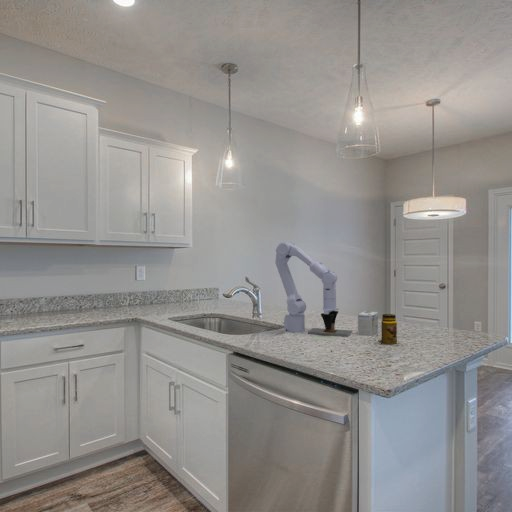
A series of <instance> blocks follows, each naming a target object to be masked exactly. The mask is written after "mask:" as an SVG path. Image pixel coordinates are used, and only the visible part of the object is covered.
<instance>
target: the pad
mask: <svg viewBox="0 0 512 512" xmlns="http://www.w3.org/2000/svg"><path fill="white" fill-rule="evenodd" d="M337 338H338V337H335V336H321V335H317V336H316V335H314V336H312V338H310V340H315V341H328V342H329V341H330V342H335V341H336V340H337Z"/></svg>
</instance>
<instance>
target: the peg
mask: <svg viewBox="0 0 512 512" xmlns="http://www.w3.org/2000/svg"><path fill="white" fill-rule="evenodd" d="M335 324H336V323H335ZM335 324H334V323H332V324H331V329H330V330H326V332H333V333H335V329H336V328H335Z"/></svg>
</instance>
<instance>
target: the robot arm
mask: <svg viewBox="0 0 512 512" xmlns="http://www.w3.org/2000/svg"><path fill="white" fill-rule="evenodd" d="M275 253H276V255H275V265H276V269H277V272H278V274H279V276H280V279H281V283H282V286H283V288H284V292H285V293H286V297H287V298H286V303H287V307H286V308H287V312H288V313H289V314H285V316H284V318H283V327H284V328H283V329H284V330H283V332H284V334H285V333H287V332H292V333H303V332H305V331H306V330H305V327H306V326H305V324H306V323H305V321H306V320H305V318H306V317H305V315H306V313H305V311H306V310H307V304H306V302H305V301H304V300H303V298H302V296H301V295H300V294H299V292H298V289H297V287H296V283H295V282H294V279H293V276H292V274H291V271H290V270H291V269H290V267H289V264H288V262H289V261H290V259H291V258H292V257H297V258H298V260H299V259H300V260H301V261H302V262H303V263H304V264H306V265H307V266H308V267H309V271H310V272H312V273H313V274H314V275H315V276H316V277H317V278H319V279H320V280H321V282H322V284H323V285H322V286H323V287H322V293H323V294H322V295H323V296H322V297H323V298H322V300H323V301H322V302H323V303H322V304H323V306H322V307H323V308H322V310H323V313H320V316H321V318H322V320H323V324H324V329H326V330H330V329H331V324H332V323H334V324H336V319H337V316H338V314H339V309H340V308H339V307H337V288H336V287H337V286H336V285H337V284H336V283H337V280H338V276H337V274H336V273H335V272H334V271H331V269H330V268H327V267H326V266H325V265H324V263H323V262H322V261H319V260H315V261H314V260H313V259H312V258H311V257H310V256H309V255H308V254H307V253H306V252H304V251H303V250H302V249H301V248H300V247H299V246H297V245H295V243H293V242H286V241H283V242H280V243H278V245H277V246H276V249H275Z"/></svg>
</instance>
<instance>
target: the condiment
mask: <svg viewBox="0 0 512 512" xmlns="http://www.w3.org/2000/svg"><path fill="white" fill-rule="evenodd" d="M381 316H382V318H381V319H382V320H381V333H380V334H381V339H378V340H377V341H376V342H375V344H377V345H378V344H380V345H386V346H395V345H394V344H397V343H398V344H399V343H400V342H399V341H398V338H397V337H398V336H397V335H398V333H397V331H398V330H397V329H398V328H397V325H398V324H397V319H396V318H397V317H396V314H393V313H385V314H382V315H381ZM381 343H382V344H381ZM398 344H397V345H398Z"/></svg>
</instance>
